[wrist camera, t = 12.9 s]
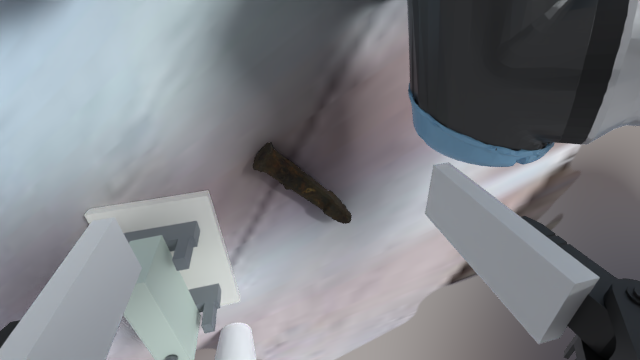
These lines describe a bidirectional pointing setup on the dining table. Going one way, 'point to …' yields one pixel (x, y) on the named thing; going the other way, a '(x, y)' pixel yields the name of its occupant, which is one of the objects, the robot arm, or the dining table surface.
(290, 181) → the hand tool
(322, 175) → the dining table surface
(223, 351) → the foam cup
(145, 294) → the tapered bar with knob
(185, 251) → the clip rack
